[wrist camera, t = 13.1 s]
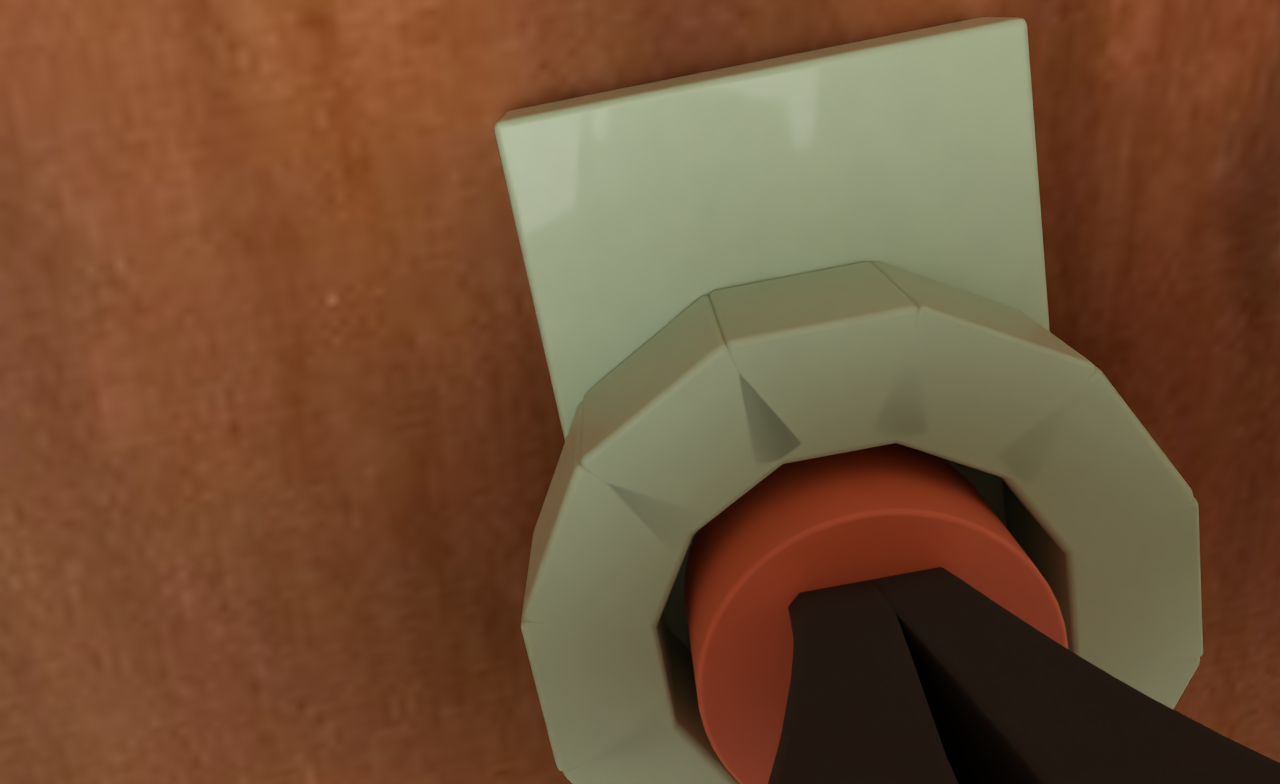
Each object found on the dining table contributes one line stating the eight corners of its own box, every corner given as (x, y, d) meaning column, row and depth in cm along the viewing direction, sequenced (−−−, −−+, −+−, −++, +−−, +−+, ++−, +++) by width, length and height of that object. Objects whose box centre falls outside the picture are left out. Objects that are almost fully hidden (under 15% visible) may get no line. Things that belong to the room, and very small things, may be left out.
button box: (1097, 808, 15) (1217, 1001, 12) (633, 889, 15) (640, 1098, 12) (1042, 4, 11) (1186, 2, 8) (450, 122, 12) (398, 158, 9)
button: (1015, 689, 12) (1081, 801, 10) (712, 743, 12) (729, 861, 10) (988, 404, 11) (1058, 477, 9) (656, 467, 11) (665, 549, 9)
